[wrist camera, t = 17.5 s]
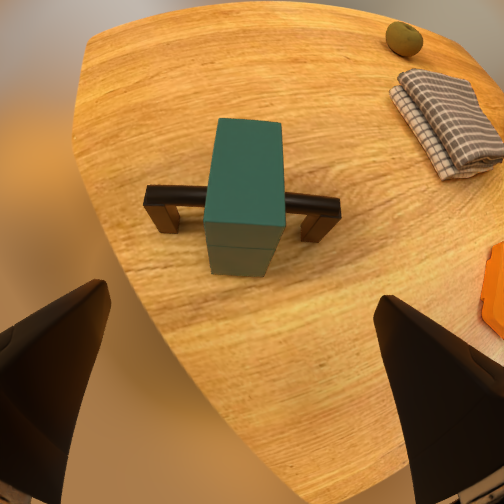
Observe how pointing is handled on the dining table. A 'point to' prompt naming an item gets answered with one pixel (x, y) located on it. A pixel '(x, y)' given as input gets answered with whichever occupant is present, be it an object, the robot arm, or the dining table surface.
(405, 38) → the apple
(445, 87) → the towel
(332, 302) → the dining table surface
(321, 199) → the dark pull handle
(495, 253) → the bracket
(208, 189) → the dark green block
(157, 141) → the dining table surface
